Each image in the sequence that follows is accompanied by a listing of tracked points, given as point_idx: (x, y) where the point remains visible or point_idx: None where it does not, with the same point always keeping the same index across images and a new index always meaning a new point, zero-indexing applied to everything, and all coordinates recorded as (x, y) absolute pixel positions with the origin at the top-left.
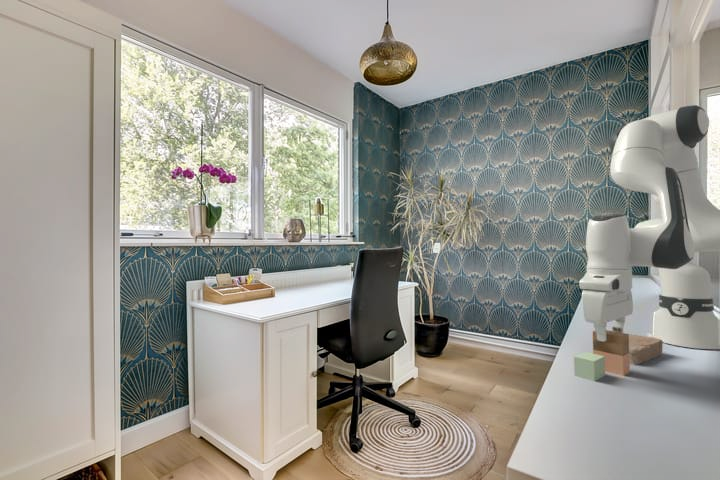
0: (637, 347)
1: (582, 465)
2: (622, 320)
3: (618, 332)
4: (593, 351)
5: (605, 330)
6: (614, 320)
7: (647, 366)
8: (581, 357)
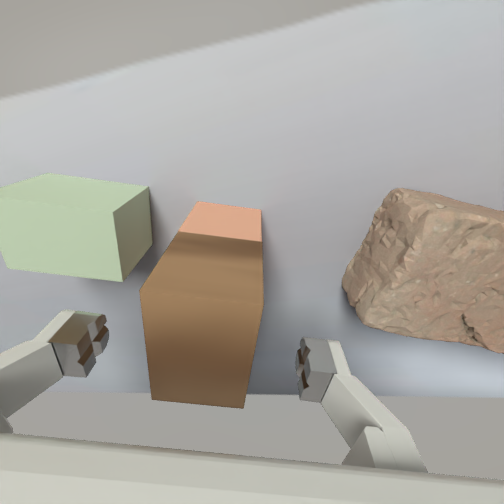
0: (406, 328)
1: None
2: (344, 459)
3: (244, 381)
4: (180, 228)
5: (22, 399)
6: (371, 418)
7: (349, 310)
8: (2, 222)
